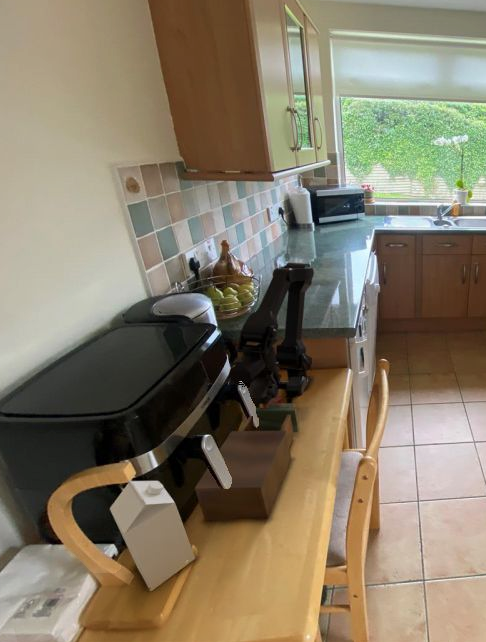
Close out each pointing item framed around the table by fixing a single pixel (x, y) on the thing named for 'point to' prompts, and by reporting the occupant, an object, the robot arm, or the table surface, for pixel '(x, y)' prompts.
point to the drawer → (275, 419)
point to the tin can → (274, 400)
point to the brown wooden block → (247, 476)
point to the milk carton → (152, 531)
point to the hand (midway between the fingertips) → (274, 410)
